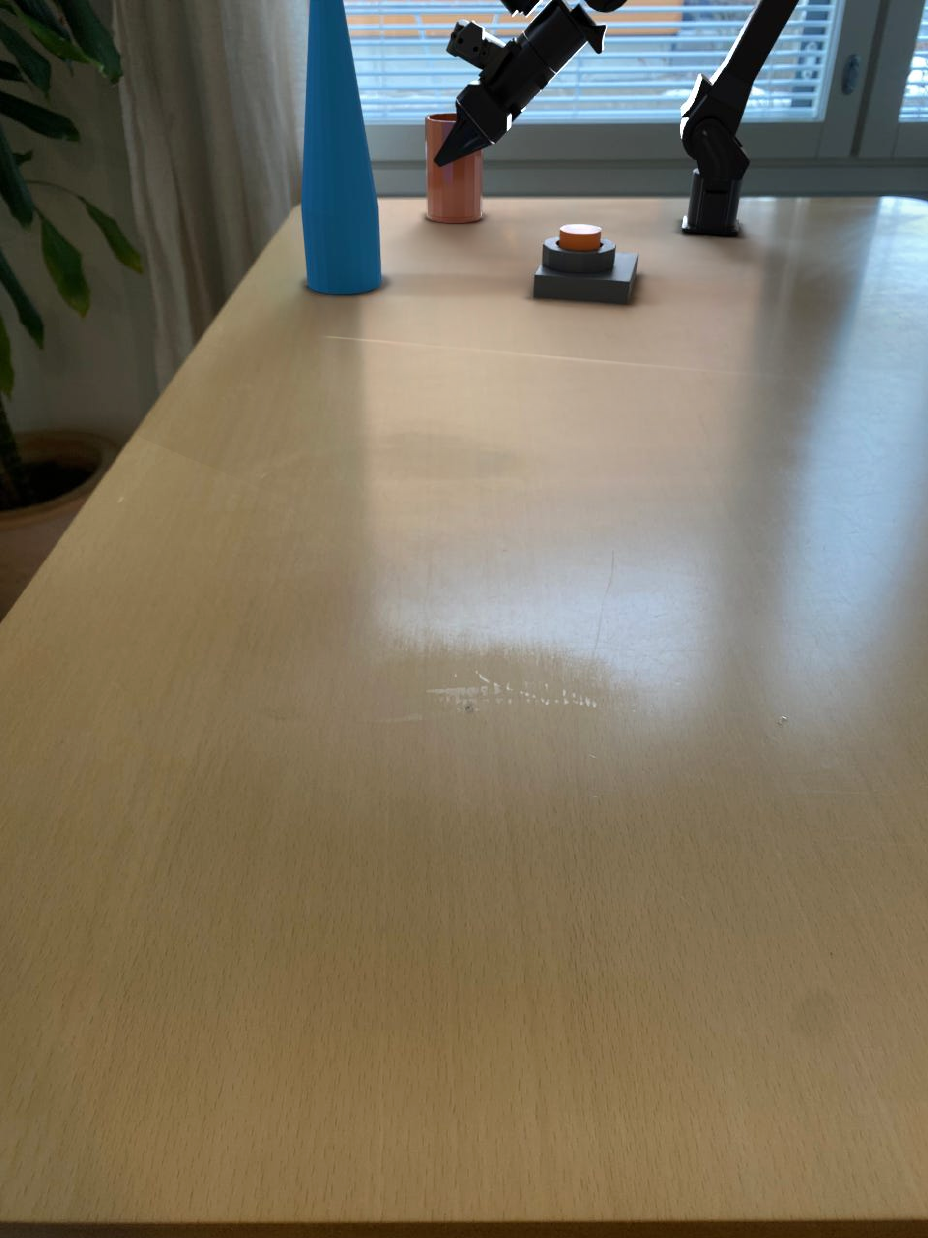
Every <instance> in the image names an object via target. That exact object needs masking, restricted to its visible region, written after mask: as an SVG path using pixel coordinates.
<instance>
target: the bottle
mask: <svg viewBox="0 0 928 1238" xmlns="http://www.w3.org/2000/svg"><path fill="white" fill-rule="evenodd" d="M308 7H309V8H308V10H309V11H308V32H307V54H306V77H305V78H306V82H305V102H304V103H305V104H304V127H303V128H304V130H303V152H302V153H303V154H302V172H301V173H302V176H301V196H300V197H301V200H300V212H301V223H302V224H301V225H302V235H303V247H304V259H305V267H306V268H305V269H306V280H307V282H306V283H307V287H308V288H309V289H310V290H312V291H315V292H318V293H323V294H327V295H357V294H363V293H367V292H371V291H375V290H376V289H377V288H379V287H380V286H381V285H382V283H383V282H382V281H383V279H382V262H381V261H382V257H381V238H380V237H381V236H380V234H381V233H380V211H379V210H380V209H379V202H378V197H377V191H376V184H375V179H374V174H373V172H374V171H373V167H372V159H371V155H370V150H369V149H370V147H369V143H368V138H367V132H366V125H365V120H364V114H363V108H362V103H361V102H362V101H361V96H360V90H359V84H358V79H357V73H356V68H355V67H356V66H355V61H354V55H353V49H352V44H351V39H350V31H349V25H348V20H347V15H346V14H347V13H346V8H345V2H344V0H309V6H308Z"/></svg>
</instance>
